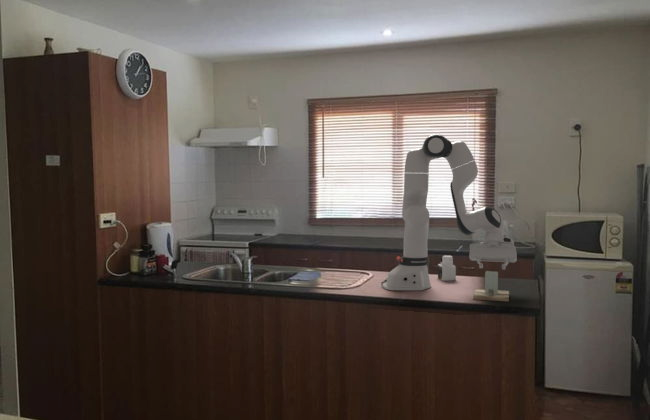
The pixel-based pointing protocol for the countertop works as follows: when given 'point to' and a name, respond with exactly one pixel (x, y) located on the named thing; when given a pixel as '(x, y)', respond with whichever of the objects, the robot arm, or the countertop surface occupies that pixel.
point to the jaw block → (491, 282)
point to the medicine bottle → (446, 268)
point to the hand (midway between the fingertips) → (492, 268)
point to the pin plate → (495, 298)
